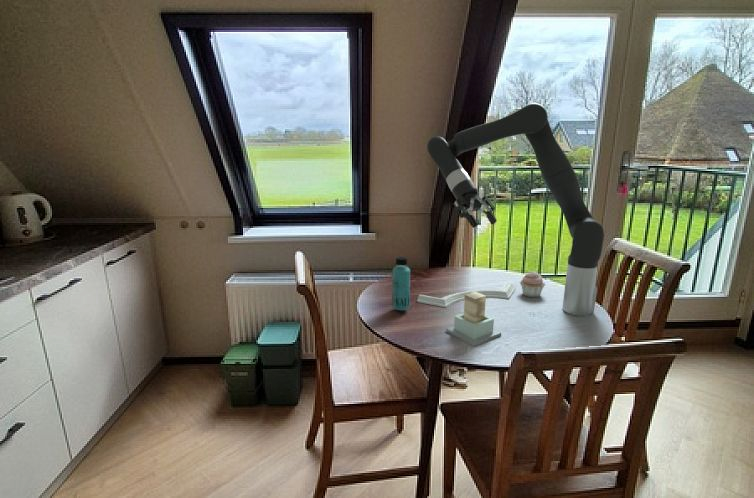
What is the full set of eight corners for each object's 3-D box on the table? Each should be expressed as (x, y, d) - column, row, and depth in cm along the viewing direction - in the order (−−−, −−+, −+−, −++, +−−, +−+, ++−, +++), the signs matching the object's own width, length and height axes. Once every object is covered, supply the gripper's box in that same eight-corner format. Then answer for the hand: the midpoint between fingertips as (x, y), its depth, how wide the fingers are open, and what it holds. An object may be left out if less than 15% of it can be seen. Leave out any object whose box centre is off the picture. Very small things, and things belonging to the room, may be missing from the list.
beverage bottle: (398, 305, 152) (398, 253, 147) (413, 309, 149) (414, 256, 143) (388, 311, 147) (388, 258, 142) (404, 316, 143) (404, 261, 138)
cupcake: (534, 289, 166) (536, 265, 163) (549, 297, 157) (551, 273, 155) (513, 291, 164) (515, 267, 161) (527, 300, 155) (530, 275, 152)
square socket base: (472, 321, 138) (473, 306, 137) (501, 335, 129) (502, 319, 127) (446, 331, 132) (446, 315, 131) (473, 346, 122) (474, 329, 121)
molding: (509, 287, 170) (510, 281, 169) (527, 298, 159) (528, 291, 158) (413, 299, 159) (413, 292, 158) (425, 311, 148) (425, 304, 147)
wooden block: (473, 326, 133) (474, 291, 130) (483, 331, 129) (485, 295, 126) (463, 329, 131) (464, 294, 127) (473, 335, 127) (475, 299, 124)
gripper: (451, 180, 132) (476, 220, 126) (482, 176, 140) (507, 215, 134) (440, 194, 138) (463, 234, 132) (470, 190, 145) (493, 228, 139)
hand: (485, 224), depth 133 cm, fingers open, 8 cm apart
